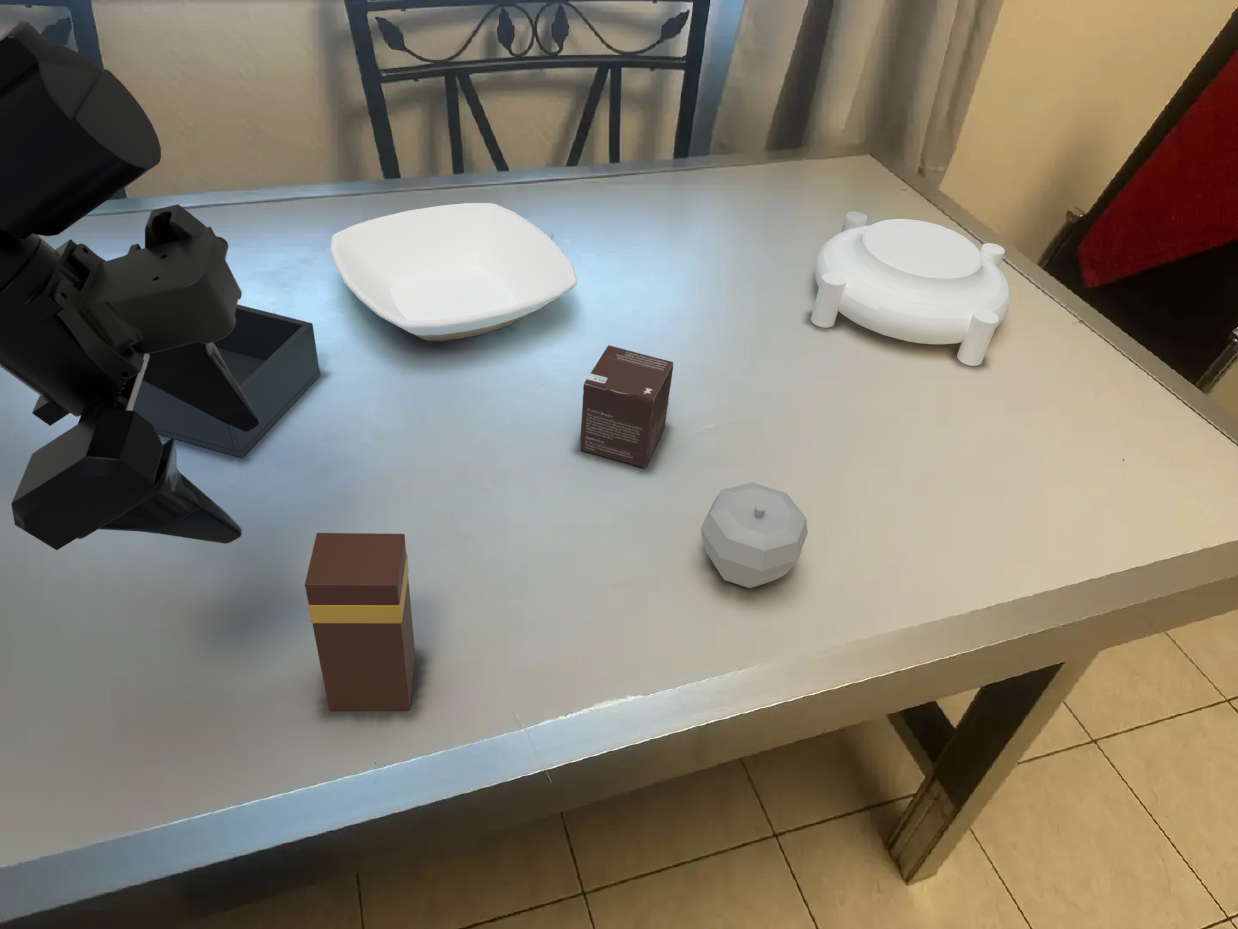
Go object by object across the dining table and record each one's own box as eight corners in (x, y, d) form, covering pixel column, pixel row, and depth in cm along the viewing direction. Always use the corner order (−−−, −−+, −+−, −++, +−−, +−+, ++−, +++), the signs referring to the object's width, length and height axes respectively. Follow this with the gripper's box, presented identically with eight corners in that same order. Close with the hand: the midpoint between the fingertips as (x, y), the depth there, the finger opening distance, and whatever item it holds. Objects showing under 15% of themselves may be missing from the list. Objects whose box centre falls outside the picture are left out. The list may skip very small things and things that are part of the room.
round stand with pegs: (919, 238, 116) (937, 183, 112) (1063, 344, 101) (1091, 285, 96) (753, 267, 107) (764, 208, 103) (882, 389, 92) (903, 326, 87)
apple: (736, 516, 77) (751, 455, 72) (817, 571, 73) (837, 509, 69) (671, 565, 72) (682, 503, 68) (753, 626, 68) (771, 564, 64)
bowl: (501, 235, 108) (501, 191, 104) (601, 332, 95) (605, 286, 91) (312, 275, 98) (306, 229, 95) (395, 390, 85) (390, 341, 82)
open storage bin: (110, 421, 79) (92, 365, 75) (200, 344, 88) (188, 291, 84) (242, 458, 77) (229, 403, 73) (320, 375, 86) (312, 323, 82)
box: (666, 429, 84) (676, 361, 79) (645, 470, 80) (654, 401, 75) (601, 411, 85) (607, 342, 81) (577, 451, 81) (582, 381, 76)
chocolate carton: (328, 711, 60) (303, 585, 52) (338, 658, 63) (316, 531, 55) (410, 711, 61) (398, 586, 53) (416, 658, 64) (405, 532, 56)
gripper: (72, 302, 35) (355, 533, 45) (162, 104, 48) (363, 316, 59) (-137, 445, 37) (176, 633, 47) (4, 218, 51) (224, 402, 61)
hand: (245, 478), depth 54 cm, fingers open, 9 cm apart
